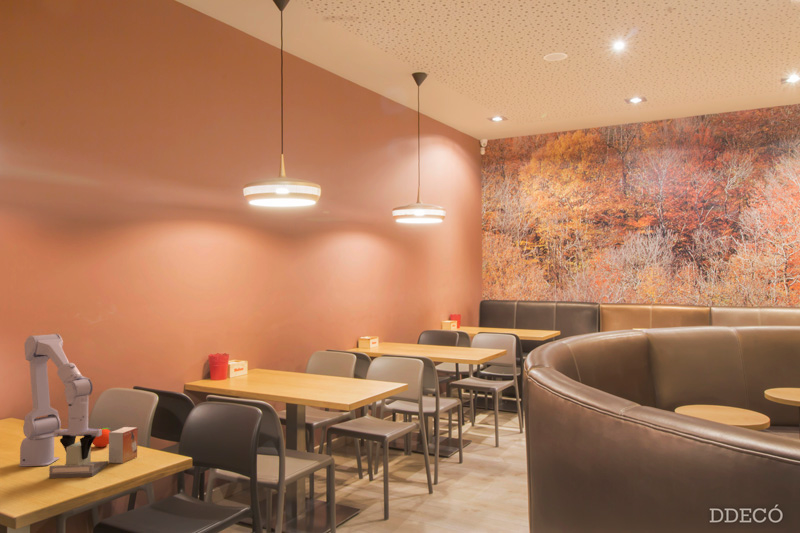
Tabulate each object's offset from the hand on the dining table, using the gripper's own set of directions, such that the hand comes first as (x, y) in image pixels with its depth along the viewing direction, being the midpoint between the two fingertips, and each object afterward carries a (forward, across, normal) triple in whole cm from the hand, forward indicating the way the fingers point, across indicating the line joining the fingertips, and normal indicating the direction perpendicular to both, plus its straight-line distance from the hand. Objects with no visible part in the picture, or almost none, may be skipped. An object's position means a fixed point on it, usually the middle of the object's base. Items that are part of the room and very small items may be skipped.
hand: (77, 458), depth 182 cm
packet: (+2, 0, 0) cm, 3 cm away
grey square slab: (+5, 0, -2) cm, 5 cm away
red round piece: (+5, +8, -30) cm, 31 cm away
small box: (+5, -8, -13) cm, 16 cm away
